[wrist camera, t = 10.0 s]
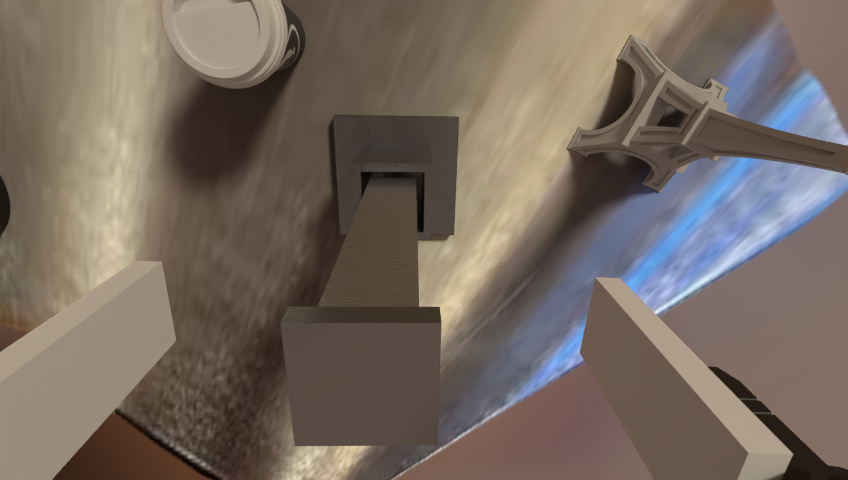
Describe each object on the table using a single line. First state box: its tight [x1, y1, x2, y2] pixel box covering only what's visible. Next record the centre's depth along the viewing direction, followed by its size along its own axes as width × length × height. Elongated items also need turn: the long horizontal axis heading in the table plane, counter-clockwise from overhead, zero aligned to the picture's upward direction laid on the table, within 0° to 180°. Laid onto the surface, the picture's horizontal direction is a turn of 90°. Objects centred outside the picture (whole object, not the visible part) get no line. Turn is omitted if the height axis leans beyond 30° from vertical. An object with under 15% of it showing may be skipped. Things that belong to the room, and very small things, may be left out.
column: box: [280, 178, 441, 446], centre depth 30 cm, size 6×6×27 cm
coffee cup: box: [162, 0, 305, 89], centre depth 40 cm, size 10×10×15 cm
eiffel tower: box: [567, 35, 848, 193], centre depth 37 cm, size 13×13×30 cm
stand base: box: [333, 115, 459, 240], centre depth 47 cm, size 14×14×12 cm
